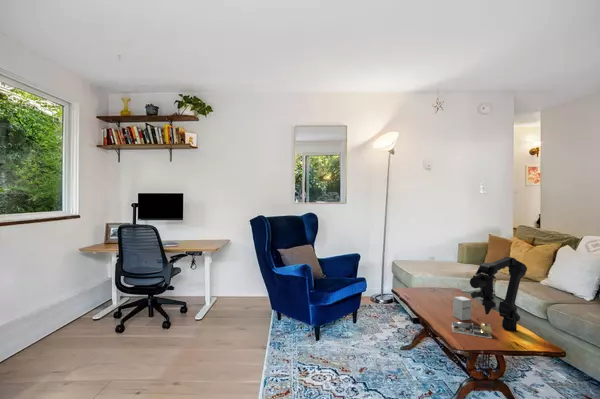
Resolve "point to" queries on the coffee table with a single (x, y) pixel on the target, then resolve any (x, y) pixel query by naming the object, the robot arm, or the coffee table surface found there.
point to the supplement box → (462, 308)
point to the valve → (486, 328)
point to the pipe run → (468, 329)
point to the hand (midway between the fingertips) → (486, 314)
